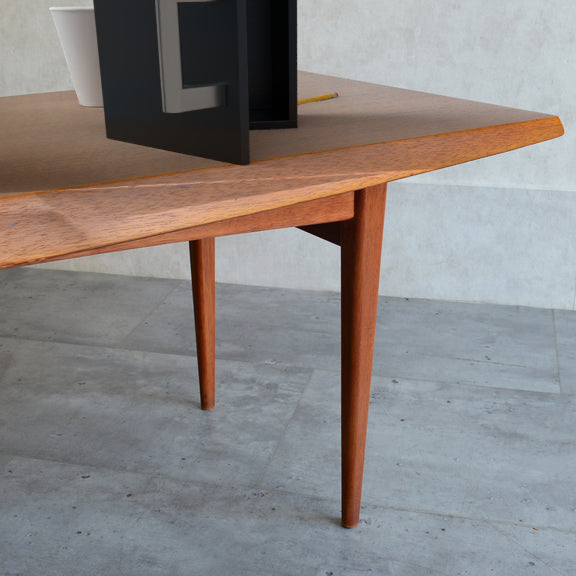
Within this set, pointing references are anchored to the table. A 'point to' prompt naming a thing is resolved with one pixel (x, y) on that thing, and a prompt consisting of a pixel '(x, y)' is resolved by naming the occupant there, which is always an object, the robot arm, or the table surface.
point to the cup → (80, 51)
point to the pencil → (316, 98)
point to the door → (176, 75)
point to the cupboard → (272, 64)
